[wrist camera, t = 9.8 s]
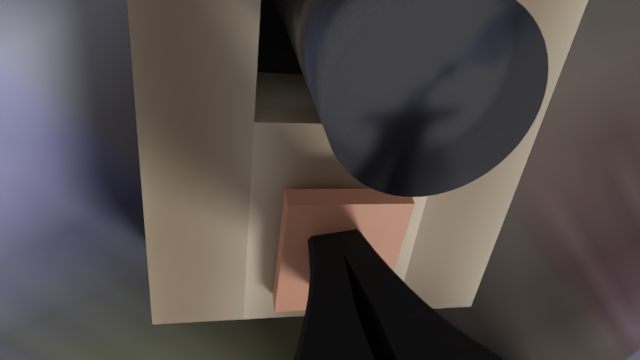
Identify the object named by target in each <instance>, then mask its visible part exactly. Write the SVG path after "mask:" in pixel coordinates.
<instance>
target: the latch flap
mask: <svg viewBox="0 0 640 360" xmlns="http://www.w3.org/2000/svg"><path fill="white" fill-rule="evenodd" d="M414 206H415V202H414V200H413V198H412V197H402V196H395V195H389V194H385V193H382V192H379V191H376V190H374V189H285V193H284V201H283V210H282V219H281V227H280V236H279V244H278V253H277V261H276V270H275V278H274V287H273V303H274V311H275V312H286V311H305V310H306V306H307V300H308V292H309V282H310V268H309V255H308V239H309V238H310V237H311V236H315V235H322V234H329V233H335V232H342V231H349V230H355V229H357V230H359V231H360V232H361V233H362V234H363V236H364V237H365V238H366V239H367V241H368V242H369V243H370V245H371V246H372V247H373V248H374V249H375V251H376V252H377V253H378V254H379V255H380V257H381V258H382V259H383V260H384V261H385V262H386V263H387V264H388V266H389V267H390V268H391V269H392V270H393V271H394V269H395V266H396V263H397V259H398V256H399V253H400V250H401V247H402V244H403V240H404V237H405V234H406V231H407V228H408V225H409V221H410V218H411V215H412V212H413V209H414Z"/></svg>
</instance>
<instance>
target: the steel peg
mask: <svg viewBox="0 0 640 360" xmlns="http://www.w3.org/2000/svg"><path fill="white" fill-rule="evenodd" d="M276 3H277V7H278V10H279V13H280V15H281V18H282V20H283V23H284V26H285V28H286V31H287V34H288V36H289V39H290V41H291V44H292V47H293V49H294V52H295V55H296V57H297V60H298V62H299V65H300V68H301V70H302V73H303V76H304V78H305V81H306V83H307V86H308V89H309V91H310V94H311V97H312V99H313V102H314V105H315V107H316V110H317V112H318V115H319V118H320V120H321V123H322V126H323V128H324V131H325V133H326V136H327V139H328V141H329V144H330V147H331V149H332V151H333V153H334V155H335V156H336V158H337V160H338V161H339V163H340V164H341V165H342V166H343V168H344V169H345V170H346V171H347V172H348V173H349V174H350V175H351V176H352V177H353V178H355V179H356V180H358V181H359V182H361V183H362V184H364V185H365V186H367V187H370V188H372V189H374V190H376V191H379V192H382V193H385V194H389V195H395V196H402V197H424V196H431V195H437V194H441V193H445V192H449V191H452V190H454V189H457V188H460V187H462V186H464V185H467V184H469V183H471V182H473V181H475V180H476V179H478V178H480V177H481V176H483V175H485V174H486V173H488V172H489V171H490V170H492V169H493V168H494V167H496V166H497V165H498V164H500V163H501V162H502V161H503V160H504V159H505V158H506V157H507V156H508V155H509V154H510V153H511V152H512V151H513V150H514V149H515V148H516V147H517V146H518V145H519V143H520V142H521V141H522V139H523V138H524V137H525V135H526V134H527V132H528V131H529V129H530V127H531V126H532V124H533V122H534V121H535V119H536V116H537V114H538V112H539V110H540V108H541V105H542V102H543V99H544V96H545V91H546V86H547V82H548V69H549V67H548V53H547V49H546V44H545V40H544V38H543V35H542V32H541V30H540V28H539V26H538V24H537V23H536V21H535V19H534V18H533V16H532V15H531V14H530V13H529V12H528V11H527V9H526V8H525V7H524V6H523V5H521V4H520V3H519V2H518V1H517V0H276Z"/></svg>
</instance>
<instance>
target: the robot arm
mask: <svg viewBox="0 0 640 360" xmlns="http://www.w3.org/2000/svg"><path fill="white" fill-rule="evenodd" d="M308 255H309V268H310V282H309V292H308V300H307V306H306V311H305V317H304V322H303V327H302V331H301V336H300V340H299V343H298V347H297V351H296V355H295V358H294V360H503V359H502V358H500V357H499V356H497V355H495V354H494V353H492V352H491V351H489V350H488V349H486V348H485V347H483V346H482V345H480V344H478V343H477V342H475V341H474V340H472V339H471V338H470V337H468V336H467V335H465V334H464V333H463V332H461V331H460V330H459V329H457V328H456V327H455V326H453V325H452V324H451V323H450V322H448V321H447V320H446V319H444V318H443V317H442V316H441V315H439V314H438V313H437V312H436V311H435V310H434V309H432V308H431V307H430V306H429V305H428V304H427V303H426V302H425V301H423V300H422V299H421V298H420V297H419V296H418V295H417V294H416V293H415V292H414V291H413V290H412V289H411V288H410V287H409V286H408V285H407V284H406V283H405V282H404V281H403V280H402V279H401V278H400V277H399V276H398V275H397V274H396V273H395V272H394V271H393V270H392V269H391V268H390V267H389V266H388V264H387V263H386V262H385V261H384V260H383V259H382V258H381V257H380V255H379V254H378V253H377V252H376V251H375V249H374V248H373V247H372V246H371V245H370V243H369V242H368V241H367V239H366V238H365V237H364V236H363V234H362V233H361V232H360V231H359V230H357V229H355V230H349V231H342V232H335V233H329V234H322V235H315V236H311V237H310V238H309V239H308Z"/></svg>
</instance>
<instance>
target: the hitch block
mask: <svg viewBox="0 0 640 360" xmlns="http://www.w3.org/2000/svg"><path fill="white" fill-rule="evenodd" d="M517 1H518V2H519V3H520V4H521V5H523V6H524V7H525V8H526V9H527V11H528V12H529V13H530V14H531V15H532V16H533V18H534V19H535V21H536V23H537V24H538V26H539V28H540V30H541V32H542V35H543V38H544V40H545V44H546V49H547V53H548V67H549V69H548V82H547V86H546V91H545V96H544V99H543V102H542V105H541V108H540V110H539V112H538V114H537V116H536V119H535V121H534V122H533V124H532V126H531V127H530V129H529V131H528V132H527V134H526V135H525V137H524V138H523V139H522V141H521V142H520V143H519V145H518V146H517V147H516V148H515V149H514V150H513V151H512V152H511V153H510V154H509V155H508V156H507V157H506V158H505V159H504V160H503V161H502V162H501V163H500V164H498V165H497V166H496V167H494V168H493V169H492V170H490V171H489V172H488V173H486V174H485V175H483V176H481V177H480V178H478V179H476V180H475V181H473V182H471V183H469V184H467V185H464V186H462V187H460V188H457V189H454V190H452V191H449V192H445V193H441V194H437V195H431V196H424V197H412V198H413V200H414V202H415V206H414V209H413V212H412V215H411V218H410V221H409V225H408V228H407V231H406V234H405V237H404V240H403V244H402V247H401V250H400V253H399V256H398V259H397V263H396V266H395V269H394V272H395V273H396V274H397V275H398V276H399V277H400V278H401V279H402V280H403V281H404V282H405V283H406V284H407V285H408V286H409V287H410V288H411V289H412V290H413V291H414V292H415V293H416V294H417V295H418V296H419V297H420V298H421V299H422V300H423V301H425V302H426V303H427V304H428V305H429V306H430V307H431V308H432V309H437V308H455V307H471V305H472V303H473V300H474V297H475V295H476V292H477V290H478V287H479V284H480V282H481V279H482V276H483V274H484V271H485V269H486V266H487V263H488V261H489V258H490V256H491V253H492V250H493V248H494V245H495V243H496V240H497V237H498V235H499V232H500V229H501V227H502V224H503V222H504V219H505V216H506V214H507V211H508V209H509V206H510V203H511V201H512V198H513V196H514V193H515V190H516V188H517V185H518V182H519V180H520V177H521V175H522V172H523V169H524V167H525V164H526V162H527V159H528V156H529V154H530V151H531V149H532V146H533V143H534V141H535V138H536V135H537V133H538V130H539V128H540V125H541V122H542V120H543V117H544V115H545V112H546V109H547V107H548V104H549V102H550V99H551V96H552V94H553V91H554V88H555V86H556V83H557V81H558V78H559V75H560V73H561V70H562V68H563V65H564V62H565V60H566V57H567V55H568V52H569V49H570V47H571V44H572V41H573V39H574V36H575V34H576V31H577V28H578V26H579V23H580V21H581V18H582V15H583V13H584V10H585V8H586V5H587V2H588V0H517ZM260 8H261V0H127V11H128V23H129V36H130V48H131V61H132V74H133V86H134V99H135V111H136V124H137V137H138V149H139V162H140V174H141V187H142V200H143V212H144V225H145V237H146V250H147V262H148V275H149V288H150V300H151V313H152V324H170V323H187V322H205V321H223V320H241V319H259V318H277V317H294V316H305V311H306V310H305V311H286V312H275V311H274V303H273V287H274V278H275V270H276V261H277V253H278V244H279V236H280V227H281V219H282V210H283V201H284V193H285V189H372V188H370V187H367V186H365V185H364V184H362V183H361V182H359V181H358V180H356V179H355V178H353V177H352V176H351V175H350V174H349V173H348V172H347V171H346V170H345V169H344V168H343V166H342V165H341V164H340V163H339V161H338V160H337V158H336V156H335V155H334V153H333V151H332V149H331V147H330V144H329V141H328V139H327V136H326V133H325V131H324V128H323V126H322V123H321V120H320V118H319V115H318V112H317V110H316V107H315V105H314V102H313V99H312V97H311V94H310V91H309V89H308V86H307V83H306V81H305V78H304V76H303V74H287V73H263V72H257V63H258V45H259V26H260Z"/></svg>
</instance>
